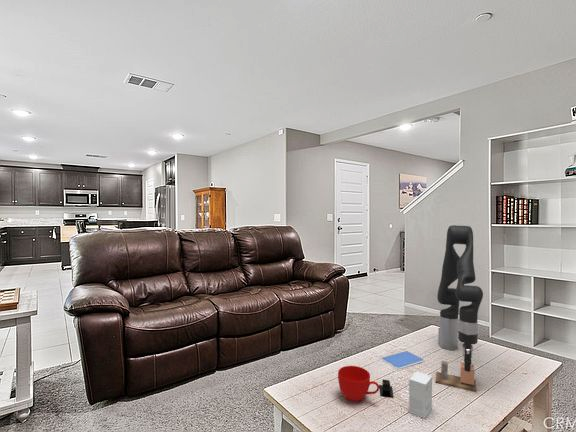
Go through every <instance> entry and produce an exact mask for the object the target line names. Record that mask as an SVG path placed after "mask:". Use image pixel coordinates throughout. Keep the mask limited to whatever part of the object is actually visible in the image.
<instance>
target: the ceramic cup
mask: <svg viewBox="0 0 576 432" xmlns="http://www.w3.org/2000/svg"><path fill="white" fill-rule="evenodd" d="M337 380H338V386H339V389H340V391H341V393H342V395H343V396H344V397H345V399H346V400H347V401H349V402H354V403H355V402H360V401H362V400H363V398H365V397H366V395H374V394H376V393H378V392H379V391H380V390H379V385H380V384H379V383H378V382H377V381H373V380H372V381H370V380H371V374H370V372H369V370H367V369H366V368H363V367H360V366H357V365H346V366H342V367H341V368H339V370H338V371H337ZM370 385H375V386H376V390H374V391H369V388H370Z"/></svg>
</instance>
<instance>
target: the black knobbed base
mask: <svg viewBox="0 0 576 432" xmlns="http://www.w3.org/2000/svg"><path fill="white" fill-rule="evenodd" d="M381 381H382V383H381V384H378V385H379V390H378V391H379V397H382V398H391V399H394V398H395V397H394V389H393V385H391V382H390V380H389V379H381Z"/></svg>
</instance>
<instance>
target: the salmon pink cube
mask: <svg viewBox="0 0 576 432" xmlns="http://www.w3.org/2000/svg"><path fill="white" fill-rule="evenodd" d="M464 367H465V362H460V372H459V373H460V374H459V375H460V376H459V377H460V382H463V383H467V384H472V385H474V380H475V365H474V364H472V363H471V364H470V372H467V371H465V370H464Z"/></svg>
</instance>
